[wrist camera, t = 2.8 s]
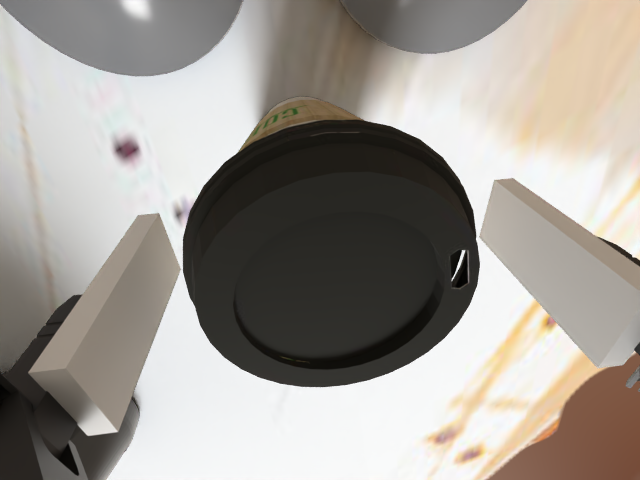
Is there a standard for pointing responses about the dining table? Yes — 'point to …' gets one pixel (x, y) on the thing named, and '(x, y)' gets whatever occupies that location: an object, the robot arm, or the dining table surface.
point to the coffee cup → (329, 249)
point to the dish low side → (430, 21)
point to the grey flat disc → (129, 30)
